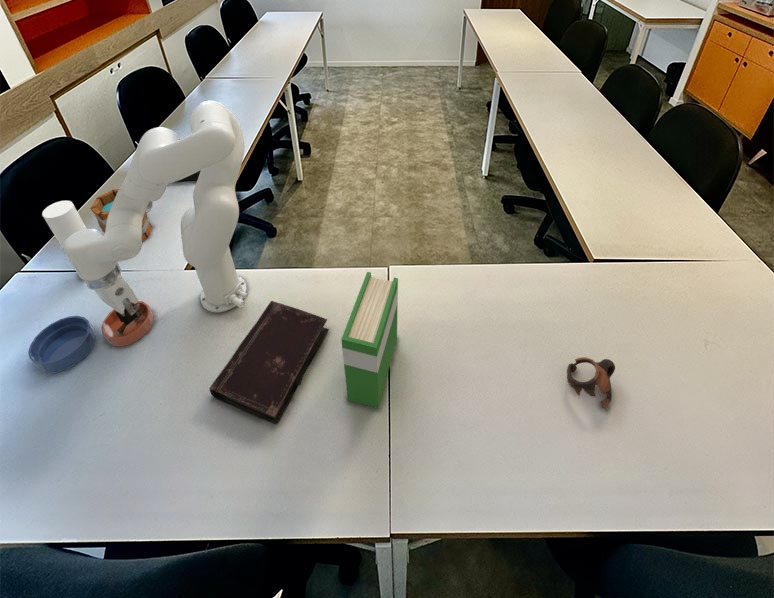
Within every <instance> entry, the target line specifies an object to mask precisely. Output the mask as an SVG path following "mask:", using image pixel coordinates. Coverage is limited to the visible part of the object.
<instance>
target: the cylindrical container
mask: <svg viewBox="0 0 774 598" xmlns="http://www.w3.org/2000/svg"><path fill="white" fill-rule="evenodd" d="M41 216H42V217H43V219H44V220H45V222H46V224H47V226H48V228H49V229H50V231H51V232H52V234H53V235H54V237H55V238H56V241H57V242H58V243H59V246H60V247H61V248H62V250H63V252H64V253H65V251H64V243H65V241H66V240H67V239H68V238H69V237H70V236H71V235H72V234H74V233H76V232H78V231H80V230H83V229H87V227H86V225H85V223H84V221H83V218H81V215H80V214H79V212H78V210H77V208H76V206H75V205H74V203H73V201H71V200H60V201H56V202H54V203H52V204H50V205H48V206H47V207H45V208H44V209H43V210H42V213H41ZM65 255H66V257H67V258H68V256H67V254H66V253H65ZM68 260H69V262H70V263H71V265H72V267H73V268H74V270H75V272H76V273H77V275H78V276H79V278H80V279H81V280H83V279H82V278H81V276H80V275H79V273H78V271H77V270H76V268H75V267H74V265H73V264H72V262H71V261H70V259H69V258H68Z"/></svg>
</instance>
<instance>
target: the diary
mask: <svg viewBox="0 0 774 598" xmlns="http://www.w3.org/2000/svg"><path fill="white" fill-rule="evenodd" d="M327 322H328V318H325V317H322V316H321V315H316V314H315V313H314V314H313V313H311V312H308V311H305V310H302V309H300V308H297V307H293V306H290V305H287V304H284V303H279V302H277V301H274V300H270V302H269V303H268V305H267V306H266V308H265V309H264V311H262V313H261V315H260V316H259V318H258V320H257V321H256V322H255V324H254V325H253V326H252V328H251V329H250V330H249V332H248V333H247V334H246V336H245V337H244V339H243V340H242V341H241V343H239V345H238V346H237V349H236V350H235V351H234V353H233V355H232V356H231V358H230V359H229V361H228V362H227V363H226V365H225V366H224V367H223V369H222V370H221V371H220V373H219V375H218V376H217V377H216V378H215V380H214V381H213V382H212V383H211V385H210V387H209V393H210V395H211V396H212V398H213V399H214V400H218V401H220V402H222V403H225V404H226V405H229V406H231V407H233V408H236V409H238V410H240V411H242V412H245V413H247V414H249V415H251V416H254V417H256V418H258V419H260V420H262V421H265V422H268V423H271V424H273V425H278V424H279V422H280V421H281V420H282V417H283V415H284V413H285V412H286V410H287V408H288V406H289V404H290V403H291V401H292V399H293V398H294V395H295V394H296V391H297V389H298V388H299V386H301V384H302V381H303V378H304V376H305V374H306V372H307V371H308V369H309V367H310V366H311V364H312V362H313V360H314V358H316V357H315V356H316V355H317V353H318V351H319V350H320V348H321V346H322V344H323V342H324V340H325V338H326V336H327V334H328V332H329V331H330V329H329V328H327V327H325V325H326V323H327Z"/></svg>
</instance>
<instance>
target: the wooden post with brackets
mask: <svg viewBox="0 0 774 598" xmlns="http://www.w3.org/2000/svg"><path fill="white" fill-rule="evenodd" d="M139 305H140V304H137V305H135V306H134V307H133V308H134V309H135V311H136V312H135V313H137V312H140V311H141V312H146V310H144V309H140V308H139ZM137 310H138V311H137ZM140 314H141V313H139V314H137V318H136V319H135V320H134V321H135V322H136V321H137V320H139V318H140V317H141V316H140ZM141 315H142V314H141ZM126 326H127V325H125V324H124V323H123V324H122V325H121V326H120V328H119V329H118V330H115V332H116V333H118V334H120V335H124V333H123V332H124V330H125V328H126Z"/></svg>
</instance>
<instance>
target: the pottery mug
mask: <svg viewBox="0 0 774 598" xmlns="http://www.w3.org/2000/svg"><path fill="white" fill-rule="evenodd" d="M574 361H575V362H574V363H569V364H568V365H567V369H566V380H567V383H568V385H569V387H570V388H572V389H573V390H574V391H575V392H576V394H577V395H578V396H580V395H581V392H582V391H584V392H585V394H586V395H587V394H588V396H590V397H596V396H597V395H596V387H598V389H599V392H600V393H601V394H603V395H606V398H604V399H603V400H602V401H601V402H600V405H601V407H602V409H606V408H607V407H608V406H609V405H610V404H611V402H612V398H613V395H612V383H611V377H612V376H613V374H614V373H615V370H616V366H615V365H616V364H615V363H614V361H612V360H611V359H608V358H604V359H602V360H601V361H599V362H596V361H595V360H594V359H591V358H588V357H577V358H575V359H574ZM585 363H587V364H590V365H592V366H593V367H594V368H595V369H594V370H595V374H594V376H593V378H591V379H590V380H587V381H579V380H576V379H575V378H574V377H573V375H572V374H574V373H575V372H576V371H577V366H578V365H579V364H585Z"/></svg>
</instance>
